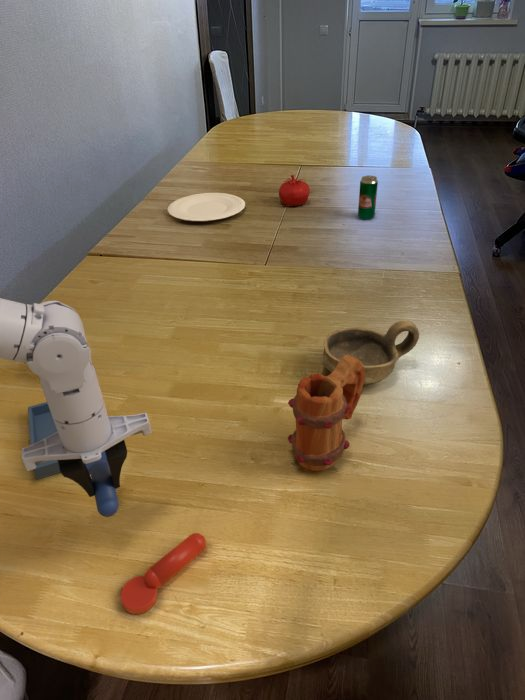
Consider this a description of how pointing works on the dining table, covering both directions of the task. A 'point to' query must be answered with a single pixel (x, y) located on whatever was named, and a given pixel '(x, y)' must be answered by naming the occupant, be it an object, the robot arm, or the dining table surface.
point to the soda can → (367, 197)
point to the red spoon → (160, 575)
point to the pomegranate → (294, 192)
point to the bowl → (370, 348)
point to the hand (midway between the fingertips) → (103, 486)
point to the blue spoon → (103, 486)
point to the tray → (42, 436)
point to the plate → (206, 207)
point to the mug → (325, 413)
